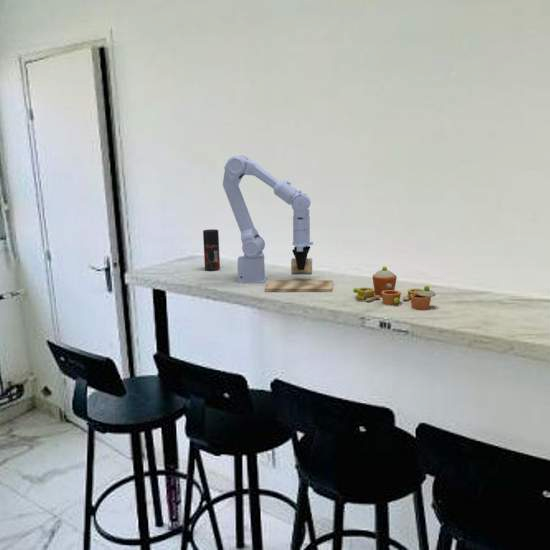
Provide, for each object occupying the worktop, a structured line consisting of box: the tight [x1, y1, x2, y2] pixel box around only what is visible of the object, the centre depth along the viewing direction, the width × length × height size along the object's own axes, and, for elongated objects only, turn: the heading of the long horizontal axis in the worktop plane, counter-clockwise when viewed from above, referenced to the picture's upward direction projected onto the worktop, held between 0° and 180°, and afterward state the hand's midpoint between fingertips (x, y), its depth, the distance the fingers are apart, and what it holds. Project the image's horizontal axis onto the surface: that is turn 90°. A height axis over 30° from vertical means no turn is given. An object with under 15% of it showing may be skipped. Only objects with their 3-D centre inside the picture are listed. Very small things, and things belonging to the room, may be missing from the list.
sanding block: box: [290, 257, 313, 276], centre depth 210 cm, size 7×4×5 cm, turn 83°
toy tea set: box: [352, 266, 437, 310], centre depth 181 cm, size 26×16×10 cm, turn 49°
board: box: [264, 279, 334, 293], centre depth 201 cm, size 22×12×1 cm, turn 83°
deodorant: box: [202, 228, 221, 271], centre depth 235 cm, size 6×6×15 cm
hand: (301, 268), depth 210 cm, fingers closed on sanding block, 4 cm apart
